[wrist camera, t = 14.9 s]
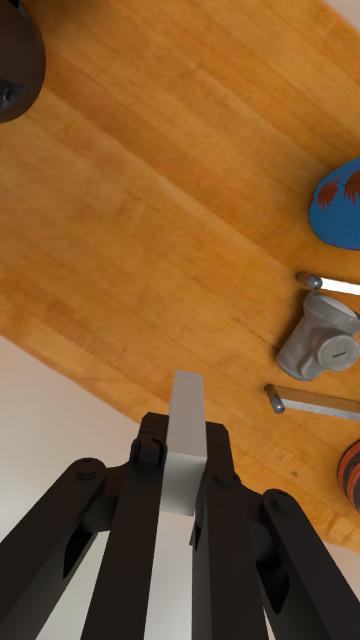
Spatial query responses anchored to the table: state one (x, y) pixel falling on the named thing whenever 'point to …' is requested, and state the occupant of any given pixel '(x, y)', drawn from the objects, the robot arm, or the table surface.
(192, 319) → the table surface
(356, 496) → the beer stein
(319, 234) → the thermos
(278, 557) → the robot arm
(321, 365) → the pipe fitting
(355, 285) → the grey metal frame
